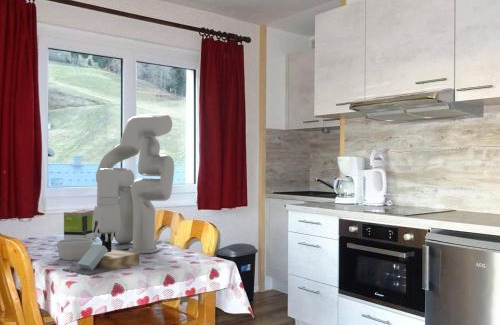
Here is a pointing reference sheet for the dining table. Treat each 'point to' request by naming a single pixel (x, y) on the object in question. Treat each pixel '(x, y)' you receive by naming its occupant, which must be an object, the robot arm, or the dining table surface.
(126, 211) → the grey bottle
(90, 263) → the grey-green rectangular block
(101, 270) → the mat
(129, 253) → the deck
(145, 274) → the dining table surface
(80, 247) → the ramekin
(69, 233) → the tea box
